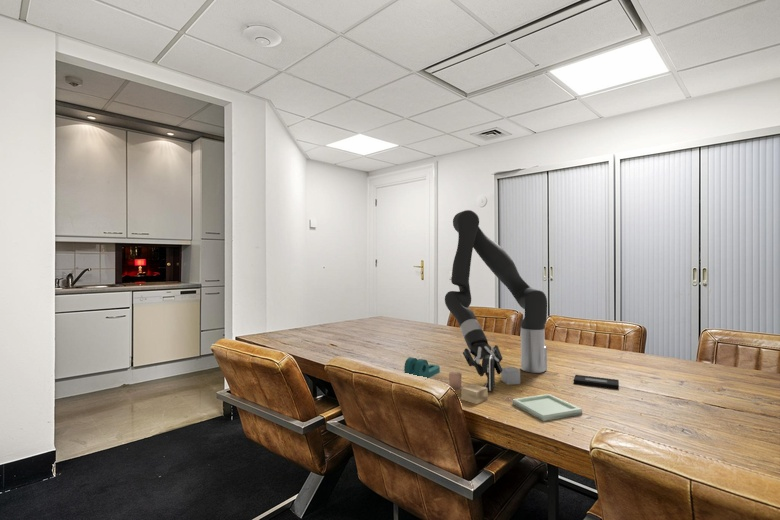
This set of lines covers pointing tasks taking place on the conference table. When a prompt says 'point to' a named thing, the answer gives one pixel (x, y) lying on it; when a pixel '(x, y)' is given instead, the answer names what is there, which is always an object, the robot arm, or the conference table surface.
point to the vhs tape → (596, 382)
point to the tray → (547, 407)
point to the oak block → (474, 393)
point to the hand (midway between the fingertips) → (491, 373)
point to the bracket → (420, 367)
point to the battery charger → (489, 370)
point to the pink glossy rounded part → (455, 380)
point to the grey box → (510, 375)
